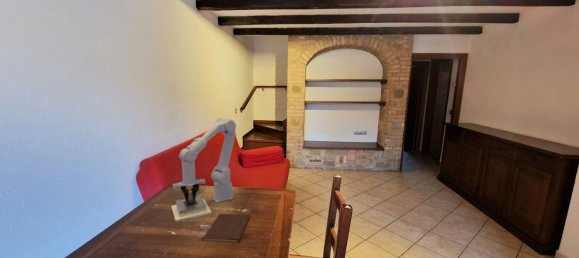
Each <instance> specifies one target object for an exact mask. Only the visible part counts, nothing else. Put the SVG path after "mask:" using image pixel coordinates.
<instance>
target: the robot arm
mask: <svg viewBox="0 0 579 258" xmlns="http://www.w3.org/2000/svg"><path fill="white" fill-rule="evenodd" d="M236 128H237V124H236V122H235V121H234V120H233V119H228V118H227V119H226V118H223V117H219V118H217V119H216V120H215V121H214V122H213V124H212V125H211V127H210V128H209V129H208V130H207V131H206V132H205V133H204V134H203V135H202V136H201V137H197V138H194V139H193V141H192V142H191V143H190V144H189V145H187V146H186V148H183V149H182V150H181V151H180V152H179V155H178V157H179V159H180V160H181V170H182V181H179V182H176V183H172V189H173V190H176V189H180V190H181V192H182V193H183V197H184V196H185V197H184V199H185V200H186V201H188V199H187V189H188V188H187V187H191V188H193V196H194V200H195V198H196V193H197V191H198V189H199V188H200V185H202V184H203V185H204V184H206V179H205V178H197V179H196V166H195V165H196V164H195V160H196V159H197V158H198V155H199V153H200V152H201V151H202V150H204V148H205V147H207V142H208V141H210V140H211V139H212V138H213V137H215V135H217V134H218V133H222V134H223V136H224V139H223V143H222V147H221V150H220V154H219V160H218V163H217V165H216V166H215V167H214V168H213V170H212V172H211V175H210V178H211V180H212V181H213V188H214V192H213V193H214V195H212V199H213V200H214V202H215V203H221V202H225V201H229V200H234V197H233V196H234V194H233V193H234V192H233V191H234V189H233V183H232V181H231V169H230V168H229V165H230V161H231V156H232V152H233V148H234V143H235V139H236V136H237V135H236Z"/></svg>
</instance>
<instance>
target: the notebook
mask: <svg viewBox="0 0 579 258" xmlns="http://www.w3.org/2000/svg"><path fill="white" fill-rule="evenodd" d="M250 218H251V215H250V214H247V213H241V214H239V213H238V214H237V213H218V215H217V216H216V218H215V219H214V221H213V223H212V224H211V225H210V227H209V228H208V230H207V231H206V233H205V234H204V236H203V237H202V238H201V239H202V241H208V242H210V241H211V242H212V241H213V242H227V243H239V242H240V240H241V237H242V236H243V234H244V231H245V229H246V227H247V225H248V222H249V220H250Z"/></svg>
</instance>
